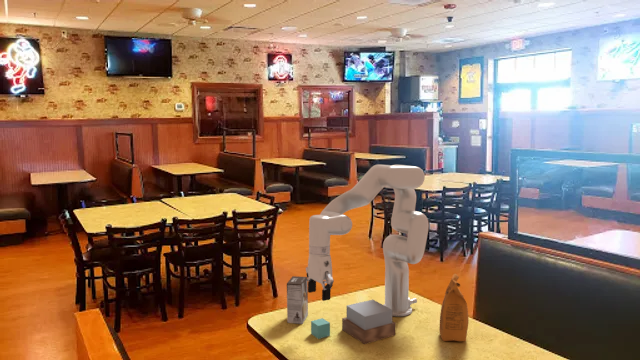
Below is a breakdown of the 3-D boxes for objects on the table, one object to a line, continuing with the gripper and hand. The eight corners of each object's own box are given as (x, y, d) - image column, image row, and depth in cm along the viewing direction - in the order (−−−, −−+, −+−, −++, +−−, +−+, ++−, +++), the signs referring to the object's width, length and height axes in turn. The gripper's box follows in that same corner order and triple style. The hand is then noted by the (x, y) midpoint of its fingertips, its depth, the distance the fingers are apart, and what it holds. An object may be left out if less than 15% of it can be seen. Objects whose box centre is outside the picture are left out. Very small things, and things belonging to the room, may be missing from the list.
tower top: (372, 312, 188) (372, 299, 188) (392, 323, 178) (392, 309, 177) (346, 318, 182) (346, 305, 182) (364, 330, 172) (364, 316, 171)
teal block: (322, 330, 182) (322, 318, 182) (329, 335, 178) (329, 322, 178) (311, 334, 180) (311, 321, 179) (318, 339, 176) (318, 325, 175)
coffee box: (292, 313, 198) (292, 275, 197) (308, 315, 197) (307, 276, 195) (286, 323, 190) (286, 283, 188) (303, 324, 188) (302, 284, 186)
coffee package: (467, 330, 182) (469, 273, 179) (468, 345, 170) (469, 284, 167) (439, 327, 184) (441, 270, 182) (438, 341, 173) (440, 281, 170)
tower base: (371, 322, 190) (372, 310, 190) (395, 336, 179) (395, 322, 178) (342, 331, 183) (342, 318, 182) (364, 345, 171) (364, 332, 171)
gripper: (341, 253, 170) (340, 301, 172) (315, 243, 184) (315, 287, 186) (323, 256, 166) (322, 305, 168) (298, 245, 180) (298, 290, 182)
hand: (318, 295), depth 177 cm, fingers open, 9 cm apart
